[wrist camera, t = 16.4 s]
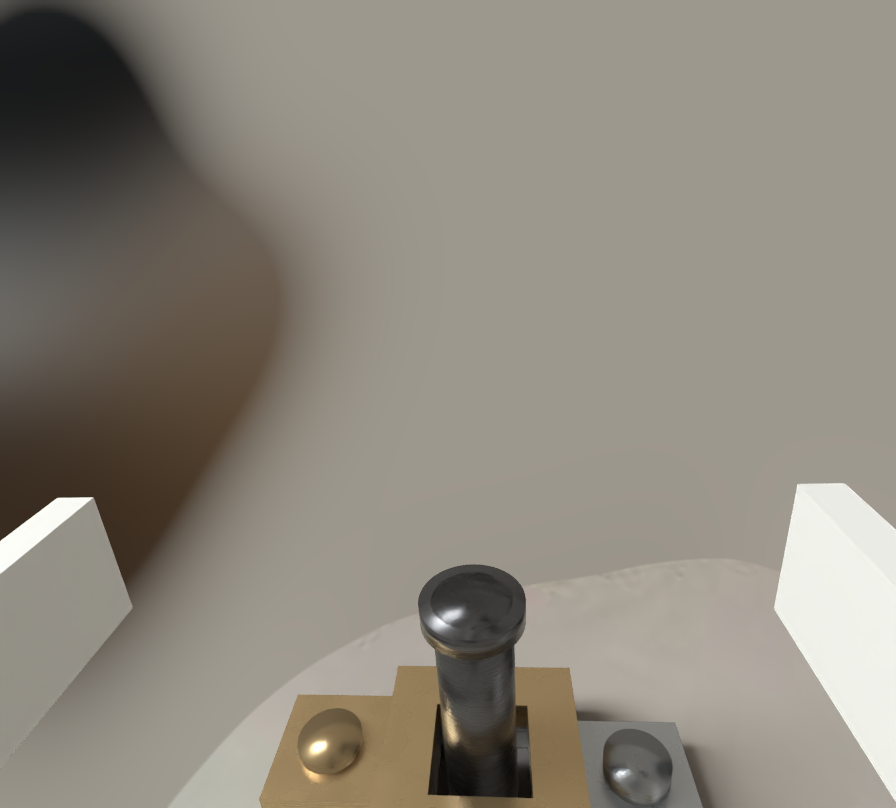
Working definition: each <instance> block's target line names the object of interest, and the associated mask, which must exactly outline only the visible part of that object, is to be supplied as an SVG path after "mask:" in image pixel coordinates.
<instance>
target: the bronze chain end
mask: <svg viewBox="0 0 896 808" xmlns="http://www.w3.org/2000/svg"><path fill="white" fill-rule="evenodd" d="M515 694H516V727H528V740H529V756H530V772H531V788H532V798H507V797H476V796H445V795H433V784H434V774H435V764H436V753H437V743H438V732H439V725H442V718H441V708H440V697H439V686H438V676H437V667H436V666H398V671H397V676H396V681H395V687H394V692H393V696H350V695H298V696H297V699H296V702H295V704H294V707H293V710H292V712H291V715H290V718H289V721H288V723H287V726H286V729H285V731H284V734H283V737H282V739H281V742H280V745H279V747H278V750H277V753H276V756H275V758H274V761H273V764H272V766H271V769H270V772H269V774H268V777H267V780H266V783H265V785H264V788H263V791H262V793H261V796H260V799H259V800H260V804H261V807H262V808H591V806H590V800H589V793H588V787H587V780H586V773H585V767H584V760H583V754H582V747H581V741H580V734H579V728H578V721H577V715H576V708H575V702H574V695H573V689H572V682H571V676H570V669H569V668H525V667H515Z"/></svg>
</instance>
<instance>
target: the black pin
mask: <svg viewBox="0 0 896 808" xmlns="http://www.w3.org/2000/svg"><path fill="white" fill-rule="evenodd" d="M418 606H419V616H420V625H421V631H422V634H423V636H424V638H425V639H426V640H427V642H428V643H429V644H430V645H431V646H432V647H433V648H434V649H435V655H436V665H437V676H438V686H439V697H440V708H441V718H442V729H443V739H444V750H445V760H446V771H447V781H448V792H449V796H476V797H507V798H518V772H517V733H516V694H515V655H514V645H515V644H516V643H517V641H518V640H519V639H520V638H521V636H522V634H523V632H524V629H525V625H526V598H525V593H524V591H523V588H522V587H521V585H520V584H519V582H518V581H517V580H516V579H515V578H514V577H512V576H511V575H510V574H508V573H506V572H505V571H502V570H500V569H498V568H494V567H490V566H485V565H463V566H457V567H453V568H450V569H447V570H445V571H442V572H440V573H439V574H437V575H436V576H434V577H433V578H431V579H430V580H429V581H428V582H427V583H426V584H425V586H424V587H423V589H422V591H421V593H420V595H419V600H418Z"/></svg>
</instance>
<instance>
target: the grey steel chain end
mask: <svg viewBox="0 0 896 808" xmlns="http://www.w3.org/2000/svg"><path fill="white" fill-rule="evenodd" d="M578 728H579V734H580V741H581V747H582V754H583V760H584V767H585V773H586V780H587V787H588V793H589V800H590V806H591V808H703V806H702V803H701V800H700V797H699V794H698V791H697V788H696V785H695V782H694V779H693V776H692V773H691V770H690V767H689V764H688V761H687V758H686V755H685V751H684V748H683V745H682V742H681V739H680V736H679V733H678V730H677V727H676V724H675V723H670V722H619V721H578ZM516 733H517V747H518V748H528V756H529V740H528V727H516ZM441 746H444V739H443V729H442V725H439V732H438V743H437V753H436V764H435V774H434V784H433V795H437V787H438V776H439V765H440V753H441ZM529 772H530V756H529ZM530 789H531V798H532V788H531V772H530Z"/></svg>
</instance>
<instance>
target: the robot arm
mask: <svg viewBox="0 0 896 808" xmlns="http://www.w3.org/2000/svg"><path fill="white" fill-rule="evenodd" d="M131 609H132V604H131V602H130V599H129V596H128V593H127V590H126V588H125V585H124V582H123V579H122V576H121V574H120V571H119V568H118V565H117V562H116V560H115V557H114V554H113V551H112V548H111V545H110V543H109V540H108V537H107V534H106V531H105V529H104V526H103V523H102V520H101V518H100V515H99V512H98V509H97V506H96V504H95V501H94V498H57V499H56V500H54V501H53V502H52V503H50V504H49V505H48V506H46V507H45V508H44V509H42V510H41V511H40V512H38V513H37V514H36V515H34V516H33V517H32V518H30V519H29V520H28V521H26V522H25V523H24V524H22V525H21V526H20V527H19V528H17V529H16V530H14V531H13V532H12V533H10V534H9V535H8V536H7V537H5V538H4V539H3V540H1V541H0V768H1V767H2V766H3V764H4V763H5V762H6V761H7V760H8V758H9V757H10V756H11V755H12V754H13V752H14V751H15V750H16V749H17V748H18V746H19V745H20V744H21V743H22V741H23V740H24V739H25V738H26V736H27V735H28V734H29V733H30V732H31V730H32V729H33V728H34V727H35V726H36V724H37V723H38V722H39V721H40V720H41V718H42V717H43V716H44V715H45V714H46V712H47V711H48V710H49V709H50V707H51V706H52V705H53V704H54V702H55V701H56V700H57V699H58V698H59V696H60V695H61V694H62V693H63V692H64V690H65V689H66V688H67V687H68V686H69V684H70V683H71V682H72V681H73V680H74V678H75V677H76V676H77V675H78V673H79V672H80V671H81V670H82V669H83V667H84V666H85V665H86V664H87V663H88V661H89V660H90V659H91V658H92V656H93V655H94V654H95V653H96V652H97V650H98V649H99V648H100V647H101V646H102V644H103V643H104V642H105V641H106V639H107V638H108V637H109V636H110V635H111V633H112V632H113V631H114V630H115V629H116V627H117V626H118V625H119V623H120V622H121V621H122V620H123V619H124V617H125V616H126V615H127V614H128V612H129V611H130V610H131ZM774 609H775V611H776V613H777V614H778V616H779V617H780V619H781V621H782V622H783V624H784V625H785V627H786V628H787V630H788V632H789V633H790V635H791V636H792V638H793V640H794V641H795V643H796V644H797V646H798V648H799V649H800V651H801V652H802V654H803V655H804V657H805V659H806V660H807V662H808V663H809V665H810V667H811V668H812V670H813V671H814V673H815V675H816V676H817V678H818V679H819V681H820V682H821V684H822V686H823V687H824V689H825V690H826V692H827V694H828V695H829V697H830V698H831V700H832V702H833V703H834V705H835V706H836V708H837V709H838V711H839V713H840V714H841V716H842V717H843V719H844V721H845V722H846V724H847V725H848V727H849V729H850V730H851V732H852V733H853V735H854V736H855V738H856V740H857V741H858V743H859V744H860V746H861V748H862V749H863V751H864V752H865V754H866V755H867V757H868V759H869V760H870V762H871V763H872V765H873V767H874V768H875V770H876V771H877V773H878V775H879V776H880V778H881V779H882V781H883V782H884V784H885V786H886V787H887V789H888V790H889V792H890V794H891V795H892V797H893V798H894V800H895V802H896V530H895V529H894V528H893V527H892V526H891V525H890V524H889V523H888V522H887V521H886V520H884V519H883V518H882V517H881V516H880V515H879V514H878V513H877V512H876V511H874V510H873V509H872V508H871V507H870V506H869V505H868V504H867V503H866V502H865V501H864V500H862V499H861V498H860V497H859V496H858V495H857V494H856V493H854V492H853V491H852V490H851V489H850V488H849V487H848V486H847V485H846V484H845V483H835V484H798V485H797V491H796V496H795V501H794V506H793V512H792V517H791V523H790V527H789V533H788V538H787V543H786V549H785V554H784V559H783V564H782V569H781V574H780V580H779V585H778V590H777V595H776V601H775V606H774Z"/></svg>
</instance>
